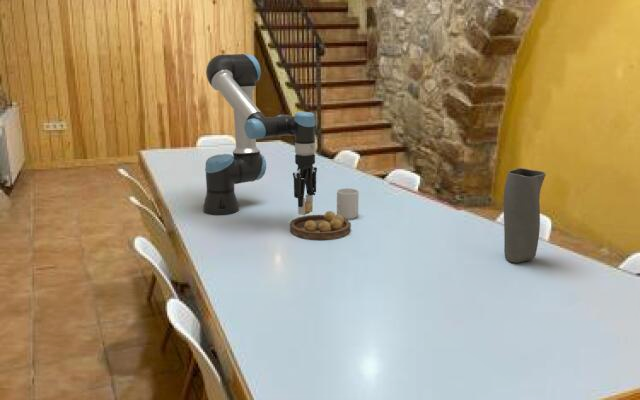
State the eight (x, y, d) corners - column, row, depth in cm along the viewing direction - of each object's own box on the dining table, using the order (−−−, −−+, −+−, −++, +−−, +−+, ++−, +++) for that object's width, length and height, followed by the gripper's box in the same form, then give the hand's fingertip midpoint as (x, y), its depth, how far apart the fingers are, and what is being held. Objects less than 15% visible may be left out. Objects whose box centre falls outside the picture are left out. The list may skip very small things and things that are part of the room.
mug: (360, 219, 239) (361, 193, 236) (340, 220, 237) (340, 194, 234) (351, 211, 251) (352, 186, 248) (332, 212, 248) (332, 187, 245)
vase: (517, 268, 189) (527, 178, 181) (490, 256, 199) (498, 170, 191) (544, 262, 194) (555, 174, 186) (517, 250, 205) (525, 166, 197)
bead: (297, 214, 226) (297, 202, 225) (304, 211, 230) (304, 200, 229) (307, 215, 224) (307, 204, 223) (314, 213, 228) (314, 201, 227)
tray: (278, 233, 222) (278, 226, 221) (311, 218, 241) (311, 211, 240) (330, 244, 210) (330, 237, 209) (360, 227, 229) (360, 220, 228)
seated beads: (301, 232, 219) (301, 221, 217) (327, 220, 234) (327, 209, 233) (328, 238, 213) (328, 226, 211) (353, 225, 228) (353, 213, 227)
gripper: (300, 158, 212) (300, 220, 218) (325, 151, 226) (325, 209, 232) (283, 156, 216) (284, 216, 222) (309, 149, 230) (309, 206, 236)
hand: (305, 212), depth 227 cm, fingers closed on bead, 4 cm apart
